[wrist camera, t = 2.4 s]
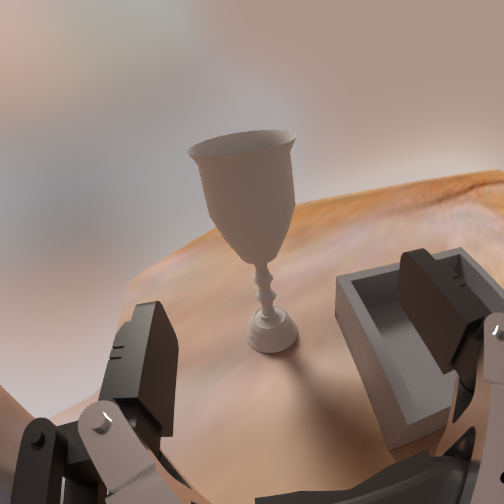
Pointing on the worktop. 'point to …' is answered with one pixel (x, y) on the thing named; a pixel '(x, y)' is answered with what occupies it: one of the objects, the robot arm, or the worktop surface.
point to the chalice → (253, 215)
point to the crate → (402, 347)
